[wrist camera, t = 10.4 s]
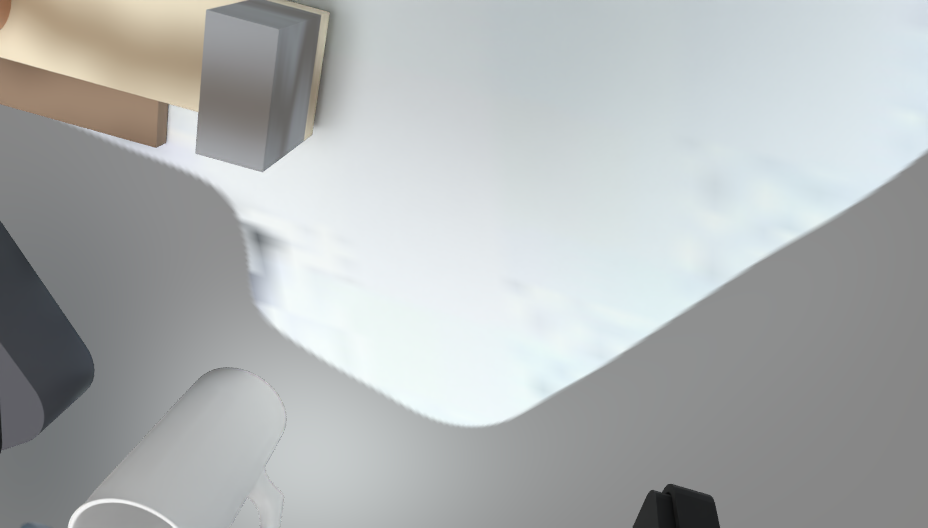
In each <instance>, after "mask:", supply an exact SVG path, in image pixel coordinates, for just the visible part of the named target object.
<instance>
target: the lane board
mask: <svg viewBox="0 0 928 528" xmlns="http://www.w3.org/2000/svg"><path fill="white" fill-rule="evenodd" d="M0 104H2V105H5V106H9V107H12V108H16V109H19V110H23V111H26V112H30V113H34V114H37V115H41V116H44V117H48V118H51V119H55V120H59V121H62V122H66V123H69V124H73V125H76V126H80V127H84V128H87V129H91V130H94V131H98V132H102V133H105V134H109V135H112V136H116V137H119V138H123V139H127V140H130V141H134V142H137V143H141V144H144V145H148V146H152V147H155V148H157V147H159V146H161V145H163V144H164V143H166V134H167V116H168V103H164V102H160V101H157V100H153V99H149V98H146V97H142V96H139V95H135V94H131V93H128V92H124V91H121V90H117V89H113V88H110V87H106V86H102V85H99V84H95V83H92V82H88V81H84V80H81V79H77V78H74V77H70V76H66V75H63V74H59V73H55V72H52V71H48V70H45V69H41V68H37V67H34V66H30V65H27V64H23V63H19V62H16V61H12V60H9V59H5V58H1V57H0Z"/></svg>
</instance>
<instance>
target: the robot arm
mask: <svg viewBox="0 0 928 528" xmlns="http://www.w3.org/2000/svg"><path fill="white" fill-rule="evenodd" d="M1 449H2V428H1V410H0V453H1ZM633 528H720V526H719V521H718V516H717V511H716V506H715V502H714V499H713V498H712V496H710V495H708V494H704V493H701V492H697V491H694V490H691V489H687V488H684V487H680V486H676V485H673V484H668V485H667V486H666V487H665V488H664V490H663V492H662V493H661V492H658V491H654V490H651V491H650V492H649V493H648V495H647V497H646V499H645V501H644V503H643V505H642V508H641V510H640V512H639V514H638V517H637V519H636V521H635V523H634V525H633Z"/></svg>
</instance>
